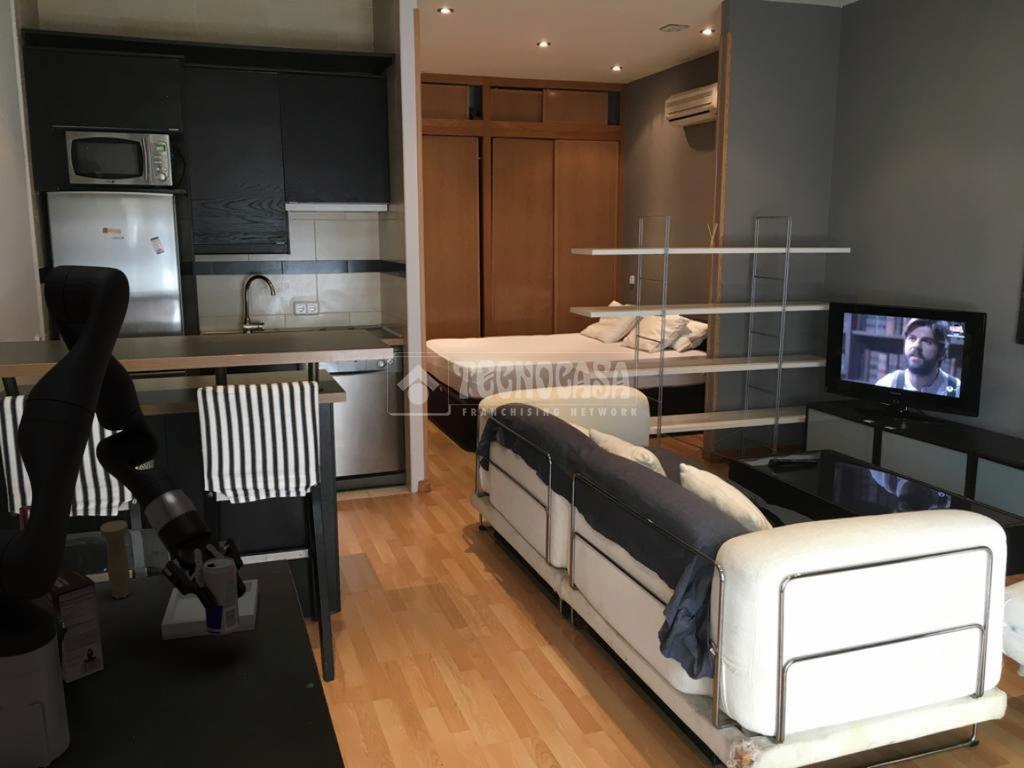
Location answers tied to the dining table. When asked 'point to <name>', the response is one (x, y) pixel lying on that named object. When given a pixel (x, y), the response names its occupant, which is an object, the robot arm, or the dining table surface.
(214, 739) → the dining table surface
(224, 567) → the energy drink
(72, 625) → the coffee box
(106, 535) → the handle
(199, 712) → the dining table surface
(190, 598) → the tray
